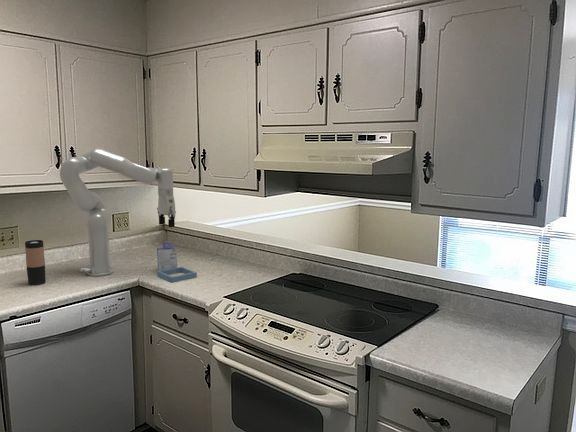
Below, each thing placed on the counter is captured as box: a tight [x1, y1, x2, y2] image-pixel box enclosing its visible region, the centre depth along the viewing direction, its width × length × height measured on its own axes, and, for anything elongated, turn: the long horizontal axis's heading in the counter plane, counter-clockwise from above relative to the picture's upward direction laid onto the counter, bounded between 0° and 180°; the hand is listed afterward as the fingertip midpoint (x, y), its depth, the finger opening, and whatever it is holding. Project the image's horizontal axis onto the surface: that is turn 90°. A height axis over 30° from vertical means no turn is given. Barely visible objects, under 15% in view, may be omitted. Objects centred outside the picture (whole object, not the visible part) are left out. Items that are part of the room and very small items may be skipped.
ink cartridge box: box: [156, 242, 178, 271], centre depth 243 cm, size 10×6×14 cm, turn 112°
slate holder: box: [156, 266, 198, 283], centre depth 233 cm, size 14×14×2 cm
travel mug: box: [24, 239, 46, 286], centre depth 218 cm, size 8×8×20 cm
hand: (166, 225), depth 240 cm, fingers open, 9 cm apart
